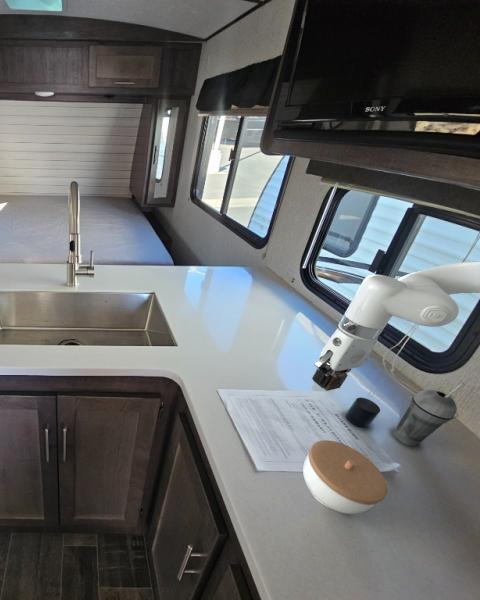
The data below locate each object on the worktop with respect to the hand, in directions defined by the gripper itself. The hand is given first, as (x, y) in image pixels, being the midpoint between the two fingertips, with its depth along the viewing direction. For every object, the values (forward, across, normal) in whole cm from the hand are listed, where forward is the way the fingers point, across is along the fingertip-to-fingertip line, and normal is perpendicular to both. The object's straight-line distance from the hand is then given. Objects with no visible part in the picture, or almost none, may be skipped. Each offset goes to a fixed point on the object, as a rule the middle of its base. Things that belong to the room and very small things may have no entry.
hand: (326, 381), depth 84 cm
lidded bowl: (+9, -18, -20) cm, 28 cm away
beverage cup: (+9, +14, -14) cm, 22 cm away
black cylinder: (+9, +7, -7) cm, 13 cm away
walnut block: (+1, 0, 0) cm, 1 cm away
